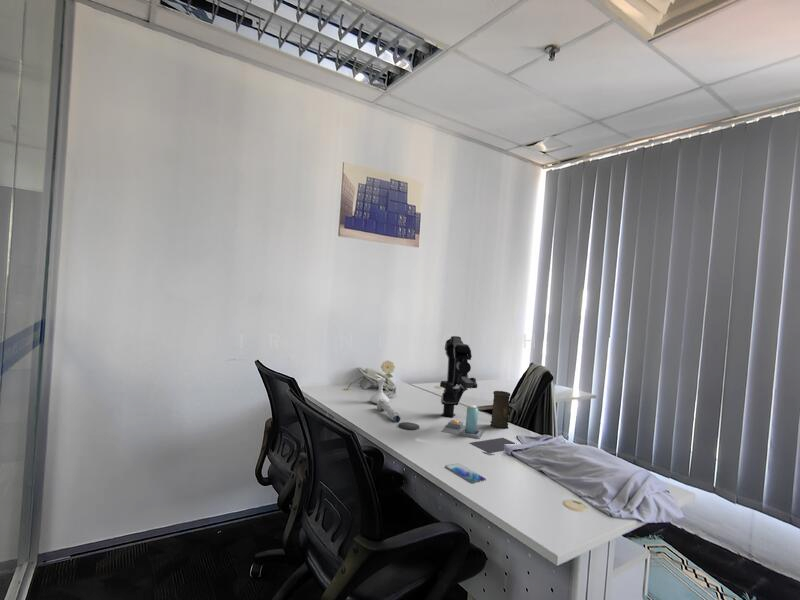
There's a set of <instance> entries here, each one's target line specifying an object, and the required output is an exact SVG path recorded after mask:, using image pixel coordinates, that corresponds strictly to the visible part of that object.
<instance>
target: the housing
mask: <svg viewBox="0 0 800 600" xmlns="http://www.w3.org/2000/svg"><path fill="white" fill-rule="evenodd" d="M453 420H454V419H450V420H449V421H448V422H447V425H446V426H445V427H444V428H442V430H441V431H440V432H441V433H446V434H449V435H453V436H454V435H456V436H459V437H465V438H471V439H476V440H480V439H481V438H482V436H483V434H484V433H485V432H486V429H483V428H478V427H477V432H476V435H474V434H469V433H465V427H466V425H464V421H461V420H458V421H459V424H456V423H452V422H453Z"/></svg>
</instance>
